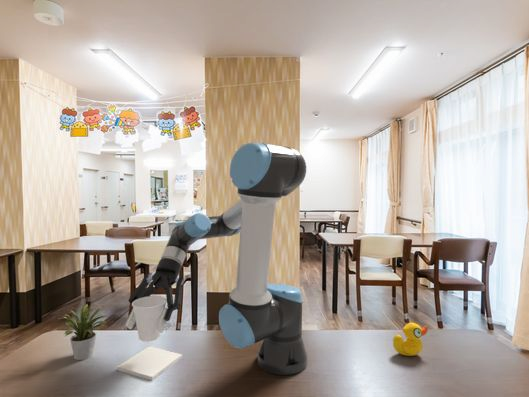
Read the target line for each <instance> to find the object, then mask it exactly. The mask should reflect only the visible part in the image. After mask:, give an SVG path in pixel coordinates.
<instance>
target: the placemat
mask: <svg viewBox="0 0 529 397" xmlns="http://www.w3.org/2000/svg"><path fill="white" fill-rule="evenodd" d="M182 358H183V354H181V353H177V352H172V351H168V350H166V349H162V348H157V347H154V346H148V347H146V348H145V349H143V350H141V351H139V353H137V354H135V355H133V356H132V357H130V358H129V359H127V360H126V361H124V362H123V363H121V364H119V365H118V366H116V370H117V371H119V372H122V373H126V374H129V375H133V376H135V377H140V378H142V379H146V380H150V381H154V380H155V379H157V378H158V377H159V376H160V375H162V374H163V373H164V372H166V371H167V370H168V369H169V368H171V367H172V366H173V365H175V364H176V363H177V362H178V361H180V360H182Z"/></svg>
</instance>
